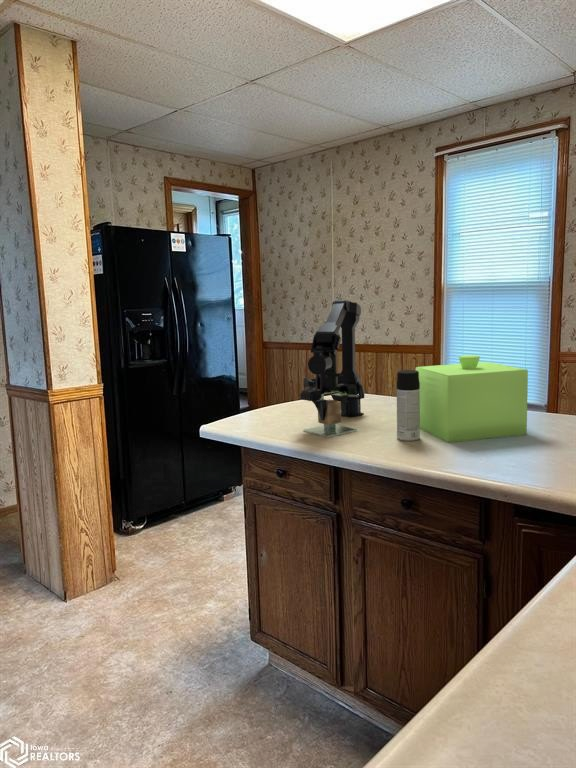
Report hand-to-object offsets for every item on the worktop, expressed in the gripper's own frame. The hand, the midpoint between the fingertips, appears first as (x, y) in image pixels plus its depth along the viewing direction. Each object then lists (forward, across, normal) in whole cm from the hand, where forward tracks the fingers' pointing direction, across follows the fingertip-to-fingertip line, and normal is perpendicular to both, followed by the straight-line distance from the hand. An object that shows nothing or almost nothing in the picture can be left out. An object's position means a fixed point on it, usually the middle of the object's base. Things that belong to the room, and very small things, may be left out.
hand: (329, 418), depth 183 cm
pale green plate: (+4, 0, 0) cm, 4 cm away
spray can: (+4, -10, +24) cm, 26 cm away
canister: (+4, -30, +30) cm, 43 cm away
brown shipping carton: (+1, 0, 0) cm, 1 cm away
